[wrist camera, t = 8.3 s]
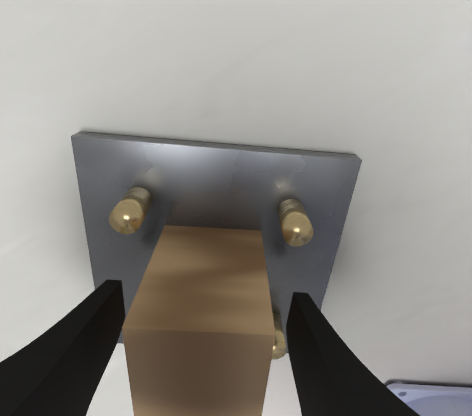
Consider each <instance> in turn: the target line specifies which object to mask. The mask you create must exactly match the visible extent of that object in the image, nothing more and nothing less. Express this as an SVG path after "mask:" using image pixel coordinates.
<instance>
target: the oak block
mask: <svg viewBox="0 0 472 416" xmlns="http://www.w3.org/2000/svg"><path fill="white" fill-rule="evenodd" d="M122 332H123V339H124V346H125V353H126V361H127V368H128V375H129V382H130V390H131V397H132V404H133V411H134V416H261V415H262V410H263V404H264V398H265V392H266V387H267V381H268V375H269V370H270V364H271V358H272V353H273V347H274V341H275V336H276V335H275V328H274V320H273V313H272V306H271V298H270V291H269V284H268V277H267V269H266V262H265V255H264V247H263V240H262V233H261V231H259V230H242V229H225V228H208V227H191V226H174V225H165V226H164V228H163V231H162V233H161V235H160V238H159V240H158V243H157V245H156V247H155V250H154V252H153V255H152V257H151V259H150V262H149V264H148V267H147V269H146V271H145V274H144V276H143V279H142V281H141V283H140V286H139V288H138V290H137V293H136V295H135V298H134V300H133V302H132V305H131V307H130V310H129V312H128V314H127V317H126V319H125V322H124V324H123V326H122Z"/></svg>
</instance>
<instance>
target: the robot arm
mask: <svg viewBox="0 0 472 416" xmlns="http://www.w3.org/2000/svg"><path fill="white" fill-rule="evenodd" d="M125 317H126V316H125V306H124V297H123V287H122V280H108V279H107V280H106V281H104V282H103V283H102V284H101V285H100V286H99V287H98V288H97V289H96V290H94V291H93V292H92V293H91V294H90V295H89V296H88V297H87V298H86V299H84V300H83V301H82V302H81V303H80V304H79V305H78V306H76V307H75V308H74V309H73V310H72V311H71V312H70V313H68V314H67V315H66V316H65V317H64V318H62V319H61V320H60V321H59V322H57V323H56V324H55V325H54V326H52V327H51V328H50V329H49V330H47V331H46V332H45V333H43V334H42V335H41V336H39V337H38V338H37V339H35V340H34V341H32V342H31V343H30V344H28V345H27V346H25V347H24V348H22V349H21V350H19V351H18V352H16V353H15V354H13V355H12V356H10V357H8V358H7V359H5V360H3V361H2V362H0V416H86V414H87V411H88V408H89V405H90V403H91V400H92V398H93V395H94V393H95V391H96V389H97V386H98V384H99V382H100V380H101V378H102V375H103V373H104V371H105V369H106V367H107V364H108V362H109V360H110V358H111V355H112V353H113V351H114V349H115V347H116V344H117V342H118V339H119V336H120V333H121V330H122V326H123V324H124V320H125ZM286 335H287V344H288V352H289V357H290V362H291V366H292V371H293V375H294V380H295V384H296V389H297V393H298V398H299V402H300V407H301V413H302V416H472V388H467V387H449V386H431V385H414V384H396V383H393V384H389V385H387V387H386V386H385V385H384V384H383V383H382V382H381V381H380V380H378V379H377V378H376V377H375V376H374V375H373V374H372V373H371V372H370V371H369V370H368V369H367V368H366V367H365V365H364V364H363V363H362V362H361V361H360V360H359V359H358V358H357V357H356V356H355V355H354V354H353V352H352V351H351V350H350V349H349V348H348V346H347V345H346V344H345V343H344V342H343V340H342V339H341V338H340V337H339V335H338V334H337V333H336V331H335V330H334V329H333V328H332V326H331V325H330V324H329V322H328V321H327V320H326V318H325V317H324V315H323V314H322V313H321V311H320V310H319V308H318V307H317V305H316V304H315V302H314V301H313V299H312V298H311V297H310V295H309V294H308V293H304V292H293V296H292V300H291V305H290V309H289V314H288V319H287V323H286Z"/></svg>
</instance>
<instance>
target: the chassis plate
mask: <svg viewBox="0 0 472 416" xmlns="http://www.w3.org/2000/svg"><path fill="white" fill-rule="evenodd" d="M71 140H72V146H73V153H74V159H75V166H76V172H77V178H78V185H79V191H80V197H81V204H82V210H83V216H84V223H85V229H86V235H87V242H88V248H89V254H90V261H91V267H92V273H93V280H94V286H95V290H96V289H97V288H98V287H99V286H100V285H101V284H102V283H103V282H104V281H106V280H107V279H108V280H122V287H123V297H124V306H125V316H126V317H127V314H128V312H129V310H130V307H131V305H132V302H133V300H134V298H135V295H136V293H137V290H138V288H139V286H140V283H141V281H142V279H143V276H144V274H145V271H146V269H147V267H148V264H149V262H150V259H151V257H152V255H153V252H154V250H155V247H156V245H157V243H158V240H159V238H160V235H161V233H162V231H163V228H164V226H165V225H174V226H191V227H208V228H225V229H242V230H259V231H261V233H262V240H263V247H264V255H265V262H266V269H267V277H268V284H269V291H270V298H271V306H272V313H273V320H274V328H275V335H276V336H275V341H274V347H273V353H272V358H271V359H278V358H281V357H283V356H284V355H285V354H286V353H289V352H288V344H287V335H286V323H287V319H288V314H289V309H290V305H291V300H292V296H293V292H304V293H308V294H309V295H310V297H311V298H312V299H313V301H314V302H315V304H316V305H317V307H318V308H319V310H320V309H321V306H322V302H323V299H324V295H325V291H326V288H327V284H328V281H329V277H330V273H331V270H332V266H333V263H334V259H335V255H336V252H337V248H338V245H339V241H340V237H341V234H342V230H343V226H344V223H345V219H346V216H347V212H348V208H349V205H350V201H351V198H352V194H353V190H354V187H355V183H356V180H357V176H358V172H359V169H360V165H361V162H362V160H361V159H360V158H359V157H358V156H356V155H354V154H342V153H330V152H318V151H306V150H294V149H282V148H270V147H258V146H246V145H234V144H222V143H210V142H198V141H185V140H173V139H161V138H149V137H137V136H125V135H113V134H101V133H89V132H78V133H76V134H74V135H72V136H71ZM126 317H125V319H126ZM124 322H125V320H124ZM117 343H124V339H123V332H122V330H121V333H120V336H119V339H118V342H117Z"/></svg>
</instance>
